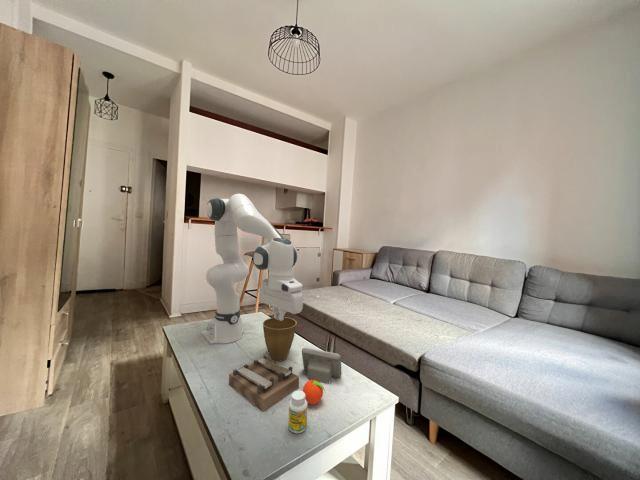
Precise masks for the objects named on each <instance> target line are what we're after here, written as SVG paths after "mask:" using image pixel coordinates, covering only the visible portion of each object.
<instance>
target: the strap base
mask: <svg viewBox="0 0 640 480" xmlns="http://www.w3.org/2000/svg"><path fill="white" fill-rule="evenodd" d="M262 358H265V359H267V360H269V361H271V362H273V363H275V364H277V362H275V361H272V360H271V359H270V358H268V355H265V354H264V355H263V357H261V358H259V359H253V361H252V362H251V363H249V364H247V363H245V364H243V367H245V368H247V369H248V370H250V371H252V372H254V373H256V374H258V375H259V376H261V377H263V378H265V379H267V380H269V381H271V382H272V385H271V386H269V387H267V388H266V389H264V388H262V385H261V384H259V385H257V384H255V383H254V382H252V381H250V380H249V379H247V378H245V377H243V376H242V375H240V374H238V373H237V370H239V369H241V368H243V367H241V368H238V369H236V368H235V369H233V370H232V372H229V373H228V385H229V386H230V387H231V388H233V389H234V390H235V391H236V392H238V393H239V394H241V395H242V396H243V397H244V398H245V399H246V400H248V401H249V402H250V403H252V404H253V405H254V406H255V407H257V408H258V409H259V410H261V412H265V411H266V410H268V409H270V408H271V407H273V406H274V405H275V404H277V403H278V402H279V401H281V400H283V399H284V398H286V396H288V395H289V394H292V393H293V392H295V391H297V389H298V388H299V387H300V385H299V384H300V376H299V375H296V373H293V369H294V367H293V366H291V365H290V366H288V369H289V370H291V373H290V374H289V375H287V376H283V375H282V374H283V373H282V372H280V373H277V372H275V371H273V370H271V369H269V368H267V367H265V366H263V365H261V364H258V360H260V359H262Z"/></svg>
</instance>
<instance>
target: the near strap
mask: <svg viewBox="0 0 640 480" xmlns="http://www.w3.org/2000/svg"><path fill="white" fill-rule="evenodd" d="M238 369H239V370H238ZM238 369H236V370H237V373H238V374H240V375H242V376H243V377H245V378H247V379H249V380H250V381H252V382H254V383H255V384H257V385H259V384H261V385H262V388H264V389H266V388H267V387H269V386H271V385H272V382H271V381H269V380H267V379H265V378H263V377H261V376H259V375H258V374H256V373H254V372H252V371H250V370H248V369H247V368H245V367H244V366H243V368H242V367H241V369H240V368H238Z"/></svg>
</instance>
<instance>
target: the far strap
mask: <svg viewBox="0 0 640 480" xmlns="http://www.w3.org/2000/svg"><path fill="white" fill-rule="evenodd" d="M261 358H262V359H261ZM261 358H259V359H260V360H259V359H257V360H258V364H261V365H263V366H265V367H267V368H269V369H271V370H273V371H275V372H277V373H280V372H282V373H283V374H282V375H283V376H287V375H289V374H290V373H291V370H289V368H286V367H284V366H282V365H280V364H277V363H276V362H274V361H272V360H270V359H269V360H270V361H269V360H267V359H268V358H267V359H265V358H263V357H261ZM271 361H272V362H271ZM273 362H274V363H273ZM275 363H276V364H275Z"/></svg>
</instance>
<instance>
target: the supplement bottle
mask: <svg viewBox="0 0 640 480" xmlns="http://www.w3.org/2000/svg"><path fill="white" fill-rule="evenodd" d="M307 427H308V402H307V401H306V400H305V393H304V392H303V390H294V391H293V392H291V399H290V401H289V403H288V429H289V431H290V432H291V433H294V434H300V433H303V432H305V430H306V429H307Z"/></svg>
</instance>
